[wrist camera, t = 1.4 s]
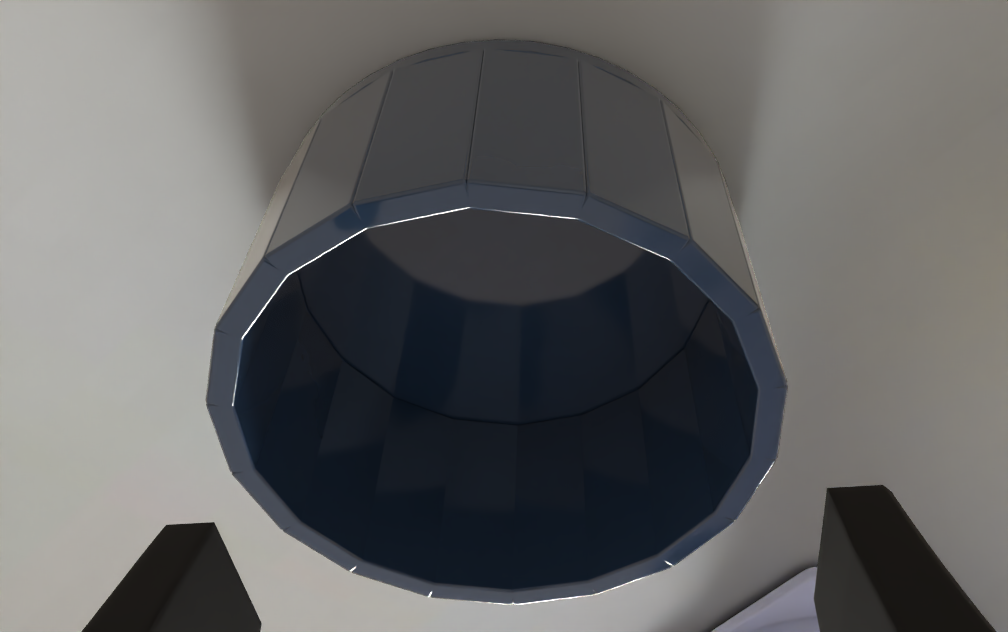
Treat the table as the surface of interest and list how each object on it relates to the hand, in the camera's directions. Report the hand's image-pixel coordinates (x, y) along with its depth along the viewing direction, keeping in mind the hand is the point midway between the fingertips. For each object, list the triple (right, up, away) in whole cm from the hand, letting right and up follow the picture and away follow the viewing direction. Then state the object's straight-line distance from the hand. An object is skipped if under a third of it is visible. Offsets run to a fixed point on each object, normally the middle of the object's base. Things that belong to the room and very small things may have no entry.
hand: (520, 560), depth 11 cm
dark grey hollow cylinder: (0, +4, +10) cm, 11 cm away
